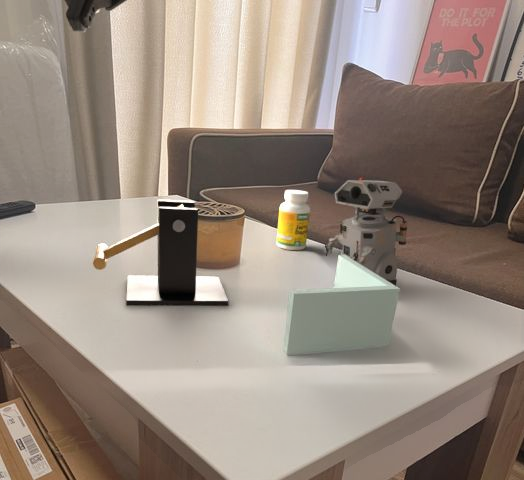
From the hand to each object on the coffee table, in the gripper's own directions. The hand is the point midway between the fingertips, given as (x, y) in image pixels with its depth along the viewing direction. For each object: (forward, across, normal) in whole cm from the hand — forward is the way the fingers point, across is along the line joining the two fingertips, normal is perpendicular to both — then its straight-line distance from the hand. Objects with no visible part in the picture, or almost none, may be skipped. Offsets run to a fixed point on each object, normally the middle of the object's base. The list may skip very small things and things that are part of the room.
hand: (76, 25), depth 66 cm
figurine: (+19, +40, +24) cm, 50 cm away
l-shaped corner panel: (+34, +35, +9) cm, 50 cm away
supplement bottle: (+7, +29, +35) cm, 46 cm away
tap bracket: (+30, +17, +12) cm, 37 cm away
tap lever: (+26, +14, +7) cm, 30 cm away
